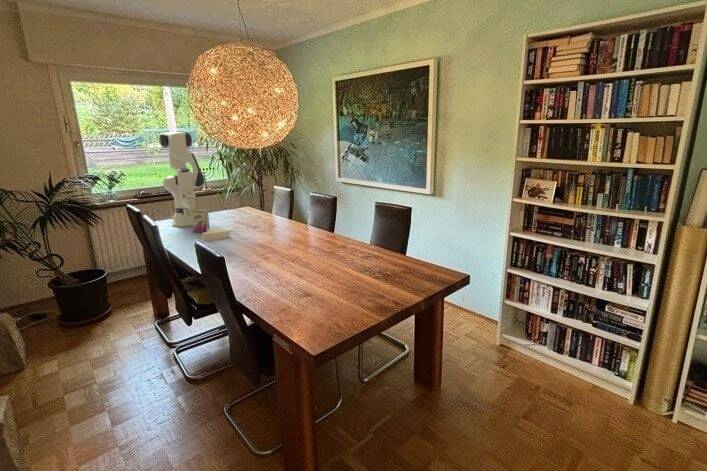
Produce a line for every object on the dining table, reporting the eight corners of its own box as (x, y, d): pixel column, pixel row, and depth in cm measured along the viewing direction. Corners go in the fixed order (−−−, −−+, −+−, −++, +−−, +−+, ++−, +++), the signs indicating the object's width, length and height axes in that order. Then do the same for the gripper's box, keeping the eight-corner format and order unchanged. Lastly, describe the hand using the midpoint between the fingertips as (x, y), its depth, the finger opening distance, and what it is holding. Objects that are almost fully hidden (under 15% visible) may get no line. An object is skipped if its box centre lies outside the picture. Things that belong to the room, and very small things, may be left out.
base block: (207, 236, 255) (206, 229, 254) (224, 233, 262) (223, 227, 261) (212, 240, 246) (211, 233, 245) (229, 237, 253) (229, 230, 252)
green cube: (184, 216, 242) (183, 209, 240) (191, 215, 245) (191, 208, 243) (186, 217, 238) (185, 210, 237) (194, 216, 241) (193, 209, 240)
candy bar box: (192, 232, 264) (190, 210, 259) (196, 230, 269) (193, 209, 264) (207, 232, 263) (204, 210, 258) (210, 231, 268) (208, 209, 263)
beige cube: (202, 239, 246) (201, 232, 244) (209, 238, 249) (209, 231, 248) (204, 241, 242) (204, 234, 241) (212, 240, 245) (211, 233, 244)
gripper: (176, 191, 243) (179, 211, 247) (186, 196, 228) (188, 217, 232) (186, 190, 247) (188, 210, 250) (196, 195, 232) (198, 216, 236)
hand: (188, 213), depth 241 cm, fingers closed on green cube, 5 cm apart
